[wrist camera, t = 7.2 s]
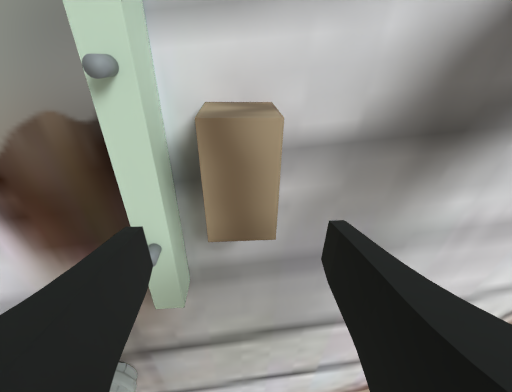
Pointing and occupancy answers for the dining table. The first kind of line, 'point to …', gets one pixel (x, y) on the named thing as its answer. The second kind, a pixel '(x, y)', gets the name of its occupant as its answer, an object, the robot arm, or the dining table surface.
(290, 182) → the dining table surface
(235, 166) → the frame block
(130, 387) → the mug
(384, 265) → the robot arm
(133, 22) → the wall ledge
